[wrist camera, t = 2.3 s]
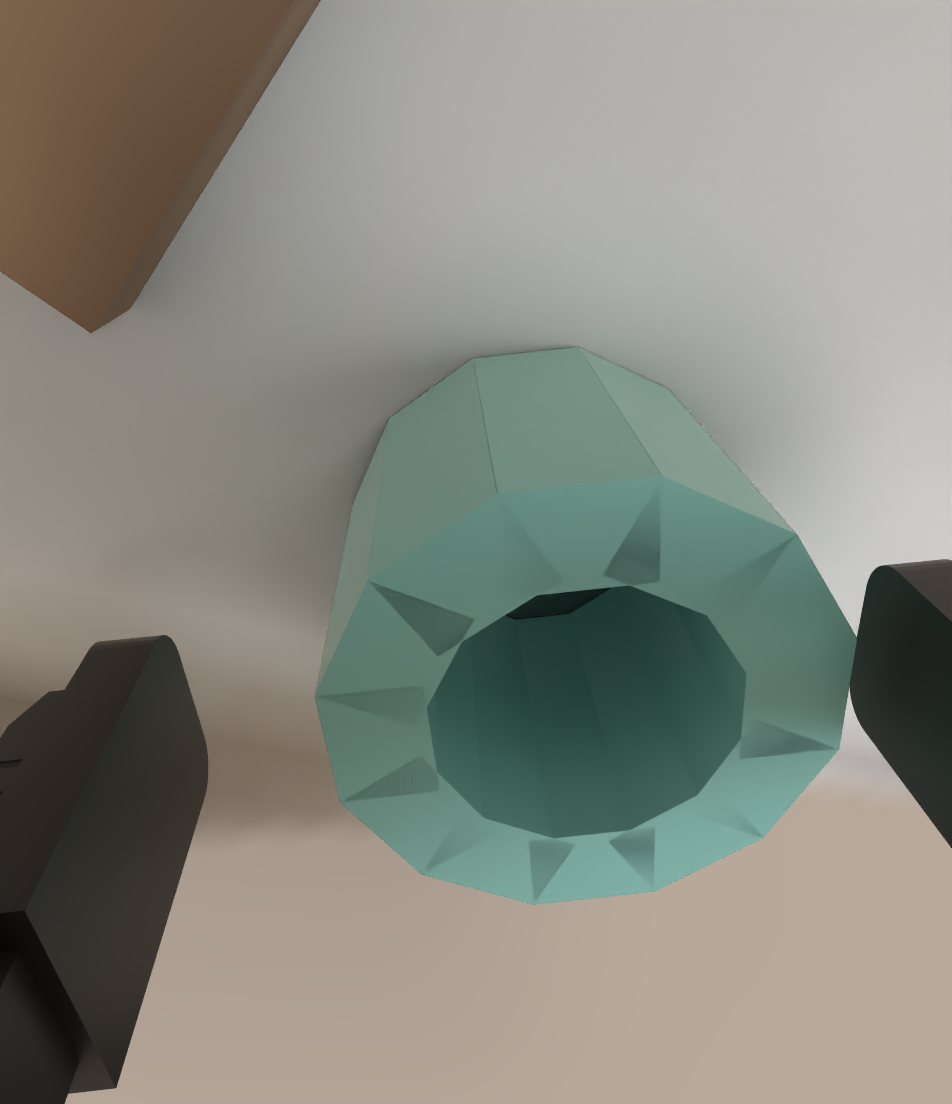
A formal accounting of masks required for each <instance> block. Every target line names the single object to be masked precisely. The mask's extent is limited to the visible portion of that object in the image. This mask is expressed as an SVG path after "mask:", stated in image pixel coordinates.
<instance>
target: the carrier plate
mask: <svg viewBox="0 0 952 1104" xmlns="http://www.w3.org/2000/svg"><path fill="white" fill-rule="evenodd" d="M319 2H320V0H0V271H1V272H2V273H4V274H5V275H7V276H8V277H10V278H11V279H12V280H14V281H15V282H17V283H18V284H20V285H21V286H23V287H24V288H26V289H27V290H29V291H30V292H32V293H33V294H34V295H36V296H37V297H39V298H40V299H42V300H43V301H45V302H46V303H48V304H49V305H51V306H52V307H54V308H55V309H56V310H58V311H59V312H61V313H62V314H64V315H65V316H67V317H68V318H70V319H71V320H73V321H74V322H76V323H77V324H78V325H80V326H81V327H83V328H84V329H86V330H87V331H89V332H90V333H92V332H94V331H95V330H97V329H99V328H100V327H102V326H103V325H105V324H106V323H108V322H110V321H111V320H113V319H114V318H116V317H118V316H119V315H121V314H122V313H124V312H125V311H127V310H129V309H130V308H131V306H132V304H133V303H134V301H135V299H136V298H137V296H138V295H139V293H140V291H141V290H142V288H143V286H144V285H145V283H146V282H147V280H148V278H149V277H150V275H151V274H152V272H153V270H154V269H155V267H156V265H157V264H158V262H159V261H160V259H161V257H162V256H163V254H164V252H165V251H166V249H167V248H168V246H169V244H170V243H171V241H172V240H173V238H174V236H175V235H176V233H177V231H178V230H179V228H180V227H181V225H182V223H183V222H184V220H185V218H186V217H187V215H188V214H189V212H190V210H191V209H192V207H193V206H194V204H195V202H196V201H197V199H198V197H199V196H200V194H201V193H202V191H203V189H204V188H205V186H206V185H207V183H208V181H209V180H210V178H211V176H212V175H213V173H214V172H215V170H216V168H217V167H218V165H219V163H220V162H221V160H222V159H223V157H224V155H225V154H226V152H227V151H228V149H229V147H230V146H231V144H232V142H233V141H234V139H235V138H236V136H237V134H238V133H239V131H240V129H241V128H242V126H243V125H244V123H245V121H246V120H247V118H248V117H249V115H250V113H251V112H252V110H253V108H254V107H255V105H256V104H257V102H258V100H259V99H260V97H261V95H262V94H263V92H264V91H265V89H266V87H267V86H268V84H269V83H270V81H271V79H272V78H273V76H274V74H275V73H276V71H277V70H278V68H279V66H280V65H281V63H282V61H283V60H284V58H285V57H286V55H287V53H288V52H289V50H290V49H291V47H292V45H293V44H294V42H295V40H296V39H297V37H298V36H299V34H300V32H301V31H302V29H303V28H304V26H305V24H306V23H307V21H308V19H309V18H310V16H311V15H312V13H313V11H314V10H315V8H316V6H317V5H318V3H319Z"/></svg>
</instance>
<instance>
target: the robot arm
mask: <svg viewBox="0 0 952 1104" xmlns="http://www.w3.org/2000/svg"><path fill="white" fill-rule="evenodd" d="M850 695H851V700H852V705H853V708H854V711H855V714H856V716H857V719H858V721H859V723H860V725H861V726H862V728H863V729H864V731H865V732H866V734H867V735H868V736H869V738H870V739H871V740H872V742H873V743H874V744H875V746H876V747H877V748H878V750H879V751H880V752H881V754H882V755H883V756H884V758H885V759H886V761H887V762H888V763H889V765H890V766H891V767H892V769H893V770H894V771H895V773H896V774H897V775H898V777H899V778H900V779H901V781H902V782H903V783H904V785H905V786H906V787H907V789H908V790H909V791H910V793H911V794H912V796H913V797H914V798H915V800H916V801H917V802H918V804H919V805H920V806H921V808H922V809H923V810H924V812H925V813H926V814H927V816H928V817H929V818H930V820H931V821H932V822H933V824H934V825H935V826H936V828H937V829H938V830H939V832H940V833H941V835H942V836H943V837H944V838H945V840H946V841H947V842H948V844H949V845H950V847H951V848H952V560H947V559H943V560H933V561H923V562H913V563H903V564H893V565H883V566H879V567H877V568H876V569H875V570H874V571H873V572H872V574H871V575H870V577H869V580H868V583H867V587H866V592H865V597H864V602H863V608H862V613H861V618H860V624H859V629H858V634H857V642H856V648H855V654H854V661H853V667H852V673H851V679H850ZM207 782H208V754H207V747H206V742H205V738H204V734H203V731H202V728H201V724H200V721H199V718H198V715H197V711H196V708H195V705H194V702H193V698H192V695H191V692H190V688H189V685H188V682H187V679H186V675H185V672H184V669H183V665H182V662H181V659H180V656H179V653H178V650H177V647H176V645H175V643H174V642H173V640H172V639H171V638H170V637H168V636H166V635H161V636H151V637H141V638H131V639H121V640H111V641H101V642H97V643H95V644H94V645H93V646H92V647H91V648H90V649H89V651H88V652H87V654H86V656H85V657H84V659H83V661H82V662H81V664H80V666H79V667H78V669H77V671H76V672H75V674H74V676H73V677H72V679H71V680H70V682H69V684H68V685H67V687H66V689H65V690H61V691H51V692H48V693H47V694H46V695H44V696H43V697H42V698H41V699H40V700H38V701H37V702H36V703H35V704H34V705H32V706H31V707H30V708H29V709H28V710H26V711H25V712H24V713H23V714H22V715H20V716H19V717H18V718H17V719H16V720H14V721H13V722H12V723H11V724H10V725H8V727H7V728H6V730H5V731H4V733H3V734H2V736H1V737H0V1104H64V1103H65V1101H66V1098H67V1095H68V1094H70V1093H78V1092H87V1091H95V1090H104V1089H113V1088H116V1087H117V1083H118V1080H119V1077H120V1074H121V1071H122V1067H123V1064H124V1061H125V1057H126V1054H127V1051H128V1048H129V1044H130V1041H131V1038H132V1034H133V1031H134V1027H135V1024H136V1021H137V1018H138V1014H139V1011H140V1008H141V1005H142V1002H143V998H144V995H145V992H146V988H147V985H148V982H149V978H150V975H151V972H152V968H153V965H154V962H155V959H156V956H157V952H158V949H159V946H160V942H161V939H162V936H163V933H164V929H165V926H166V923H167V919H168V916H169V912H170V910H171V906H172V903H173V899H174V896H175V893H176V890H177V887H178V883H179V880H180V877H181V873H182V870H183V866H184V863H185V860H186V857H187V854H188V850H189V847H190V844H191V841H192V837H193V834H194V831H195V827H196V824H197V821H198V818H199V814H200V811H201V808H202V804H203V801H204V798H205V794H206V789H207Z"/></svg>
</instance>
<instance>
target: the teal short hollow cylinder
mask: <svg viewBox="0 0 952 1104" xmlns="http://www.w3.org/2000/svg"><path fill="white" fill-rule="evenodd" d="M610 587H612V588H611V589H609V590H608V591H606V592H604V593H603V594H601V595H599V596H598V597H596V598H594V599H593V600H591V601H589V602H588V603H586V604H584V605H583V606H581V607H579V608H578V609H576V610H575V611H573V612H571V613H570V614H564V615H554V616H545V617H535V618H526V619H517V620H515V619H513V618H510V617H507V616H505V615H506V614H508V613H509V612H511V611H513V610H514V609H516V608H517V607H519V606H521V605H522V604H524V603H525V602H527V601H529V600H530V599H532V598H534V597H535V596H537V595H544V594H554V593H563V592H572V591H582V590H591V589H600V588H610ZM856 642H857V637H856V636H855V634H854V632H853V630H852V629H851V627H850V625H849V623H848V622H847V620H846V618H845V617H844V615H843V613H842V611H841V610H840V608H839V606H838V604H837V603H836V601H835V599H834V598H833V596H832V594H831V592H830V591H829V589H828V587H827V585H826V584H825V582H824V580H823V578H822V577H821V575H820V573H819V572H818V570H817V568H816V566H815V565H814V563H813V561H812V559H811V558H810V556H809V554H808V553H807V551H806V549H805V547H804V546H803V544H802V542H801V540H800V539H799V537H798V535H797V534H796V533H795V532H794V530H793V529H792V528H791V527H790V526H789V525H788V524H787V523H786V521H785V520H784V519H783V518H782V517H781V516H780V515H779V514H778V512H777V511H776V510H775V509H774V508H773V507H772V506H771V504H770V503H769V502H768V501H767V500H766V499H765V498H764V497H763V495H762V494H761V493H760V492H759V491H758V490H757V489H756V488H755V486H754V485H753V484H752V483H751V482H750V481H749V480H748V478H747V477H746V476H745V475H744V474H743V473H742V472H741V471H740V469H739V468H738V467H737V466H736V465H735V464H734V463H733V461H732V460H731V459H730V458H729V457H728V456H727V455H726V454H725V452H724V451H723V450H722V449H721V448H720V447H719V446H718V445H717V443H716V442H715V441H714V440H713V439H712V438H711V437H710V435H709V434H708V433H707V432H706V431H705V430H704V429H703V428H702V426H701V425H700V424H699V423H698V422H697V421H696V420H695V419H694V417H693V416H692V415H691V414H690V413H689V412H688V411H687V409H686V408H685V407H684V406H683V405H682V404H681V403H680V402H679V400H678V399H677V398H676V397H675V396H674V395H673V394H672V393H671V391H670V390H669V389H668V388H666V387H664V386H661V385H659V384H657V383H655V382H653V381H651V380H648V379H646V378H644V377H642V376H640V375H638V374H635V373H633V372H631V371H629V370H627V369H625V368H622V367H620V366H618V365H616V364H614V363H612V362H610V361H607V360H605V359H603V358H601V357H599V356H597V355H594V354H592V353H590V352H588V351H586V350H584V349H581V348H579V347H573V348H563V349H554V350H545V351H535V352H526V353H517V354H507V355H498V356H488V357H479V358H472V359H471V360H469V361H468V362H467V363H465V364H464V365H462V366H461V367H460V368H458V369H457V370H456V371H454V372H453V373H451V374H450V375H449V376H447V377H446V378H444V379H443V380H442V381H440V382H439V383H438V384H436V385H435V386H433V387H432V388H431V389H429V390H428V391H426V392H425V393H424V394H422V395H421V396H419V397H418V398H417V399H415V400H414V401H413V402H411V403H410V404H408V405H407V406H406V407H404V408H403V409H401V410H400V411H399V412H397V413H396V414H395V415H393V416H392V417H390V418H389V420H388V422H387V424H386V427H385V429H384V431H383V434H382V436H381V439H380V441H379V443H378V446H377V448H376V450H375V453H374V455H373V457H372V460H371V462H370V465H369V467H368V469H367V472H366V474H365V476H364V479H363V481H362V483H361V486H360V488H359V491H358V493H357V495H356V498H355V500H354V502H353V506H352V511H351V516H350V521H349V526H348V531H347V536H346V541H345V546H344V551H343V556H342V561H341V566H340V571H339V576H338V581H337V586H336V591H335V596H334V601H333V606H332V611H331V616H330V622H329V627H328V632H327V637H326V642H325V647H324V652H323V657H322V662H321V667H320V672H319V677H318V682H317V687H316V692H315V700H316V704H317V708H318V713H319V717H320V721H321V725H322V729H323V733H324V738H325V742H326V746H327V750H328V754H329V758H330V762H331V767H332V771H333V775H334V779H335V783H336V787H337V792H338V796H339V800H340V803H341V804H343V805H344V806H345V807H346V808H347V809H348V810H349V811H350V812H352V813H353V814H354V815H355V816H356V817H357V818H358V819H359V820H361V821H362V822H363V823H364V824H365V825H366V826H367V827H368V828H370V829H371V830H372V831H373V832H374V833H375V834H376V835H378V836H379V837H380V838H381V839H382V840H383V841H384V842H385V843H387V844H388V845H389V846H390V847H391V848H392V849H393V850H394V851H396V852H397V853H398V854H399V855H400V856H401V857H402V858H404V859H405V860H406V861H407V862H408V863H409V864H410V865H411V866H413V867H414V868H415V869H416V870H417V871H418V872H419V873H420V874H422V875H425V876H429V877H433V878H436V879H440V880H444V881H448V882H452V883H455V884H459V885H463V886H466V887H470V888H474V889H477V890H481V891H485V892H488V893H492V894H496V895H500V896H503V897H507V898H511V899H515V900H518V901H522V902H526V903H529V904H544V903H553V902H563V901H572V900H581V899H591V898H600V897H609V896H618V895H628V894H637V893H646V892H654V891H657V890H659V889H661V888H663V887H665V886H667V885H669V884H671V883H673V882H675V881H677V880H679V879H681V878H683V877H685V876H687V875H689V874H691V873H693V872H695V871H697V870H699V869H701V868H703V867H705V866H707V865H709V864H711V863H713V862H715V861H717V860H719V859H721V858H723V857H726V856H728V855H730V854H732V853H734V852H736V851H738V850H739V849H742V848H744V847H746V846H748V845H750V844H752V843H754V842H756V841H758V840H760V839H762V838H763V837H764V836H765V835H766V834H767V833H768V832H769V830H770V829H771V828H772V827H773V825H775V824H776V822H777V821H778V820H779V819H780V818H781V816H782V815H783V814H784V813H785V812H786V811H787V809H788V808H789V807H790V806H791V805H792V804H793V802H794V801H795V800H796V799H797V798H798V797H799V795H800V794H801V793H802V792H803V791H804V790H805V788H806V787H807V786H808V785H809V784H810V782H811V781H812V780H813V779H814V778H815V777H816V775H817V774H818V773H819V772H820V771H821V770H822V768H823V767H824V766H825V765H826V764H827V763H828V761H829V760H830V759H831V758H832V757H833V756H834V754H835V753H836V752H837V751H838V750H839V746H840V740H841V734H842V728H843V722H844V716H845V710H846V704H847V697H848V691H849V685H850V679H851V673H852V667H853V661H854V654H855V648H856Z"/></svg>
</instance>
